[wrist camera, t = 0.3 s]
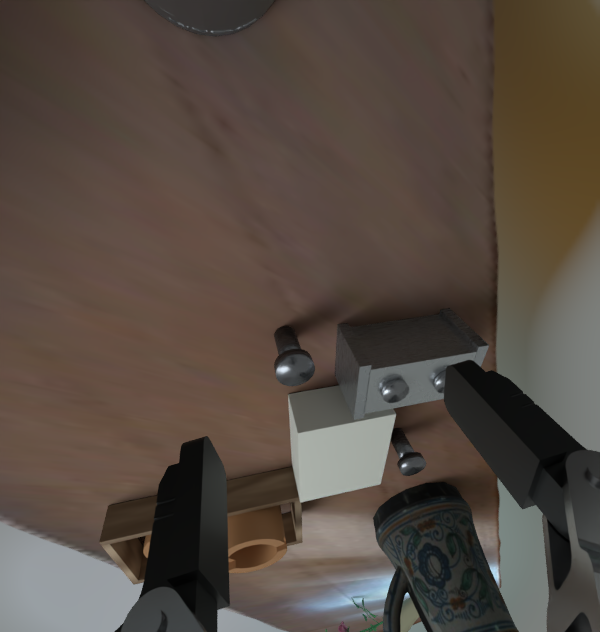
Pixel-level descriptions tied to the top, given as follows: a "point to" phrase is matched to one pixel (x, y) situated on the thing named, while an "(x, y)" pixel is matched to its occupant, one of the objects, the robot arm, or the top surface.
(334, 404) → the stand
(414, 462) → the bolt
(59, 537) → the top surface
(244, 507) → the frame
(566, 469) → the robot arm
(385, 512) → the beer stein
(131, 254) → the top surface
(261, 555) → the brown piece
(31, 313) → the top surface
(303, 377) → the bolt
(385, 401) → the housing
